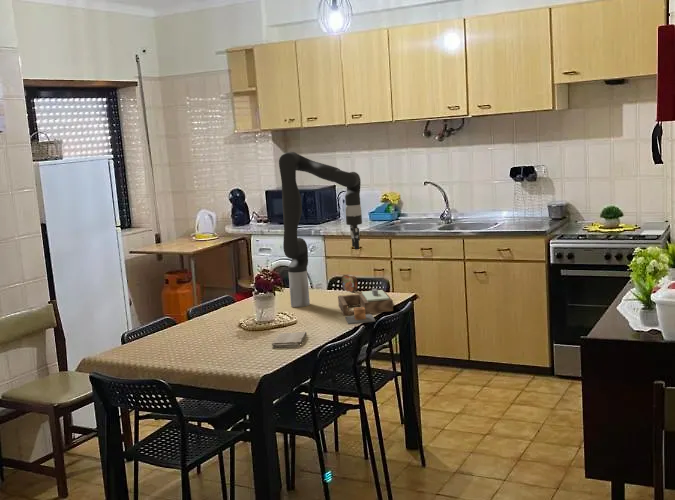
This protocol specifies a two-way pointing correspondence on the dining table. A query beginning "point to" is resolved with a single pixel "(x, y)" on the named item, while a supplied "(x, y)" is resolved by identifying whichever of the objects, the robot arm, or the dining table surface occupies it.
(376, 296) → the cover
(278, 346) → the washcloth
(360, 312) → the block
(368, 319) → the rubber mat
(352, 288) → the tin
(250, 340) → the dining table surface
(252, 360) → the dining table surface
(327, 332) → the dining table surface
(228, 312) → the dining table surface
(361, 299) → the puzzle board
